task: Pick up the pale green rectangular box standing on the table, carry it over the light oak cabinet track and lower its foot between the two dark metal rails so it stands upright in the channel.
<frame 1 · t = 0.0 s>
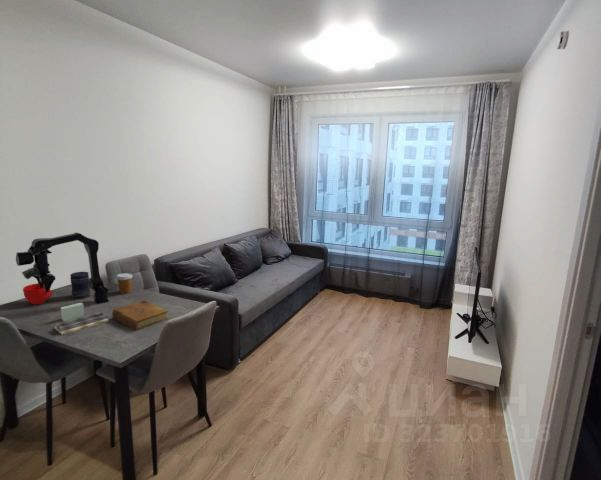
hand: (44, 289, 192), 15 cm above the table, tool pointing down, fingers open, 9 cm apart
ceramic cup: (41, 303, 211), on the table
diary: (140, 320, 195), on the table
disposable coffee cup: (125, 292, 233), on the table
cabinet track: (82, 324, 185), on the table
pale green rectangular box: (73, 317, 193), on the table
storage jar: (81, 296, 223), on the table
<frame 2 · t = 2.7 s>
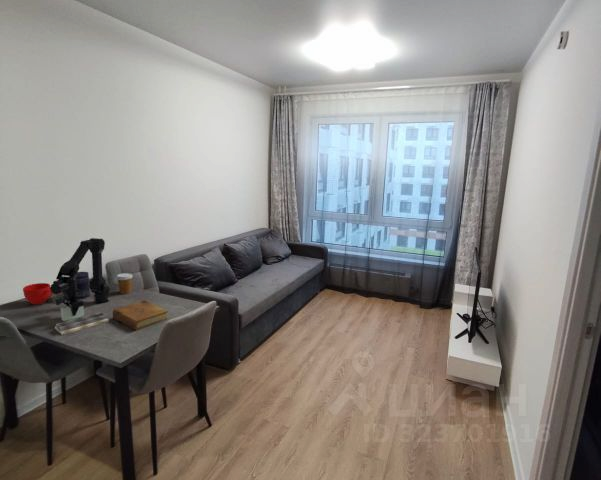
hand: (72, 314, 193), 2 cm above the table, tool pointing down, fingers closed on pale green rectangular box, 3 cm apart
pale green rectangular box: (73, 317, 193), on the table, touching gripper
everything else where it was.
when the fingers open (4 cm above the table, at t = 6.1 s): pale green rectangular box drops 1 cm, resting on cabinet track.
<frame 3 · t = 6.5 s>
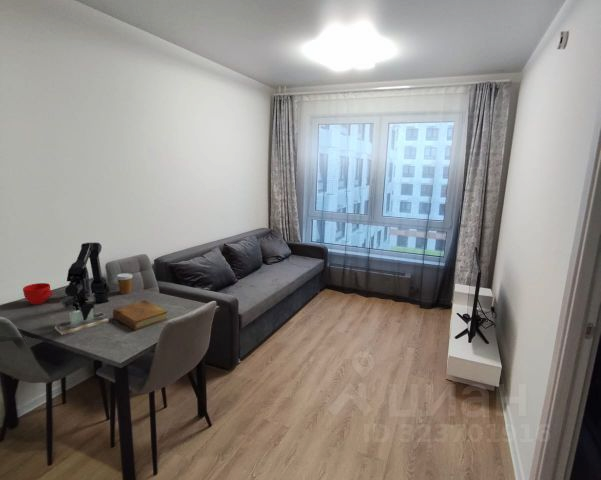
hand: (82, 317, 185), 4 cm above the table, tool pointing down, fingers open, 7 cm apart
pale green rectangular box: (82, 323, 185), point 1 cm above the table, touching cabinet track
everything else where it was.
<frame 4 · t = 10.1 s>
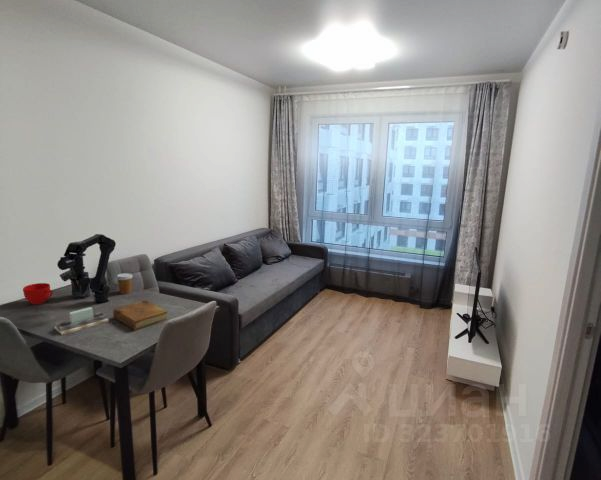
hand: (79, 291, 198), 12 cm above the table, tool pointing down, fingers open, 9 cm apart
nothing on the table moved.
at the end: pale green rectangular box inside the target area on the cabinet track (0.0 cm from its centre), point 1.0 cm above the cabinet track's base; pale green rectangular box tilted 0°; the gripper is holding nothing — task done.
